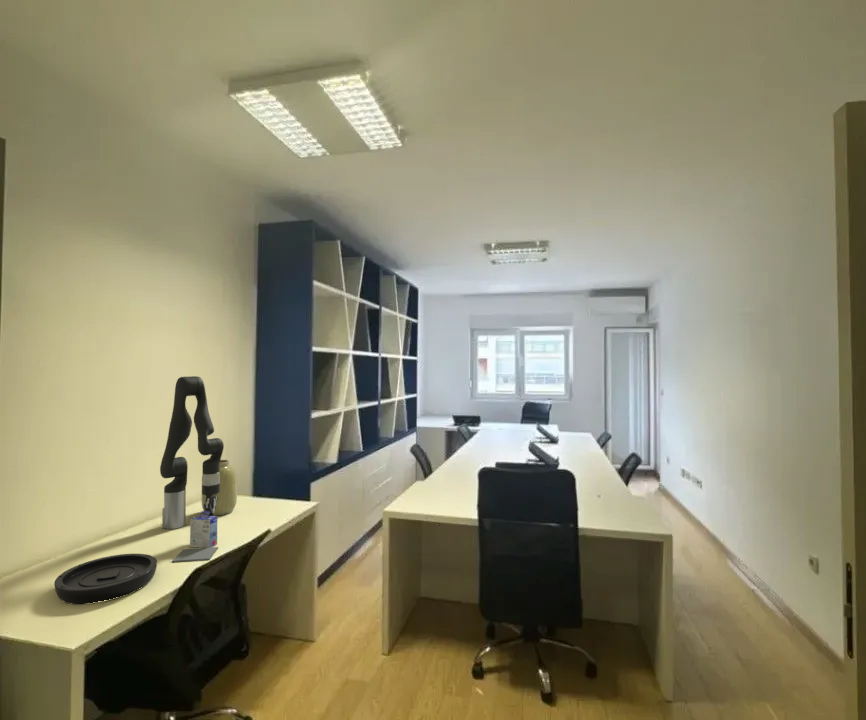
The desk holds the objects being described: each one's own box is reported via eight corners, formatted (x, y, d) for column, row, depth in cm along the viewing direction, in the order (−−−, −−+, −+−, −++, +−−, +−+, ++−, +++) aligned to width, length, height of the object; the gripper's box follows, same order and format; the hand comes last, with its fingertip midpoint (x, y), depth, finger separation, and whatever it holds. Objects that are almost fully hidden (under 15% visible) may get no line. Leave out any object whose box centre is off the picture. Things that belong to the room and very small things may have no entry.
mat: (172, 562, 186) (172, 560, 186) (183, 550, 198) (183, 549, 198) (209, 559, 188) (209, 558, 188) (218, 548, 200) (218, 546, 200)
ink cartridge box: (218, 543, 205) (218, 510, 205) (210, 548, 200) (210, 514, 200) (197, 542, 207) (198, 509, 207) (189, 547, 202) (189, 513, 202)
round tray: (162, 562, 187) (70, 576, 175) (162, 547, 187) (70, 560, 175) (150, 596, 159) (39, 615, 147) (150, 578, 159) (40, 596, 147)
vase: (219, 505, 261) (219, 457, 262) (243, 508, 255) (243, 459, 256) (193, 515, 245) (194, 463, 245) (219, 518, 239) (219, 465, 240)
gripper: (206, 479, 219) (206, 516, 219) (197, 486, 206) (197, 526, 206) (223, 478, 220) (223, 515, 220) (215, 486, 207) (215, 525, 207)
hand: (210, 520), depth 213 cm, fingers closed
